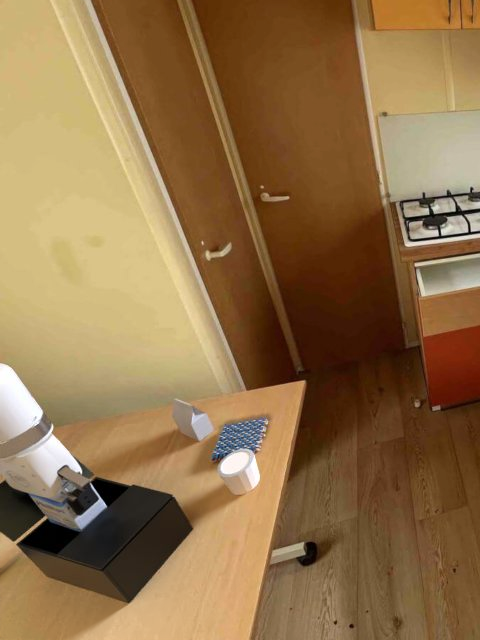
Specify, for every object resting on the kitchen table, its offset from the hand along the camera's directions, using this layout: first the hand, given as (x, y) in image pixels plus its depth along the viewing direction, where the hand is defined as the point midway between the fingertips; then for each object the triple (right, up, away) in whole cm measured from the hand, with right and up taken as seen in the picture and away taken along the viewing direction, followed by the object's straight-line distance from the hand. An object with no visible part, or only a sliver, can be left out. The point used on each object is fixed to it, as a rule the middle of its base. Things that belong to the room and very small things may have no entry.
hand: (69, 501), depth 75 cm
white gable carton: (0, 0, +30) cm, 30 cm away
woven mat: (+13, -2, +28) cm, 31 cm away
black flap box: (+4, -13, +6) cm, 15 cm away
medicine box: (0, -4, +2) cm, 5 cm away
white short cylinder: (+20, -7, +18) cm, 28 cm away
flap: (-6, +2, +1) cm, 7 cm away
